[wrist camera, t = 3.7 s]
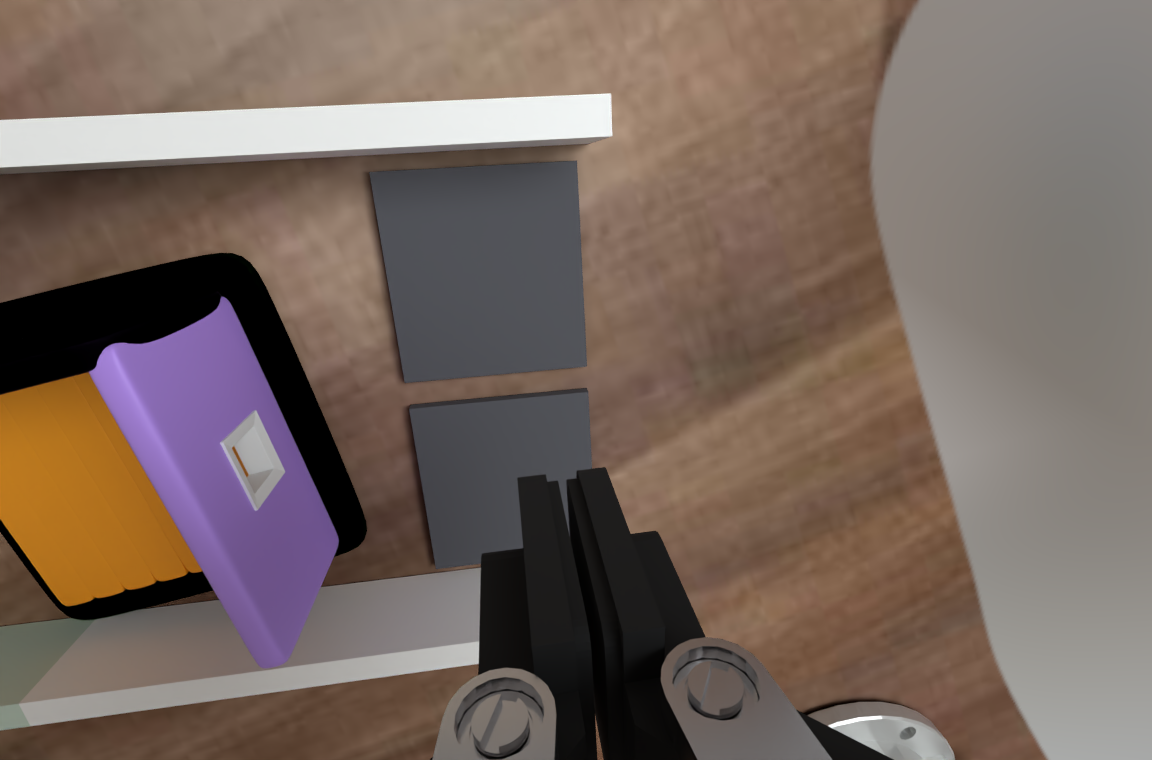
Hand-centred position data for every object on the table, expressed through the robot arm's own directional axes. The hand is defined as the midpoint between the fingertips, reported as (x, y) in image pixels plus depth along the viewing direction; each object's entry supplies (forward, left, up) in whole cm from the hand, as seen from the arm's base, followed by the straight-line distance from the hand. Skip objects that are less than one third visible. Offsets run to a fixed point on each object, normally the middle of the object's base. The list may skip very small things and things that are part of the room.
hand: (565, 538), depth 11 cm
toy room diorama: (+14, +2, -11) cm, 18 cm away
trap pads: (+1, +1, -11) cm, 11 cm away
